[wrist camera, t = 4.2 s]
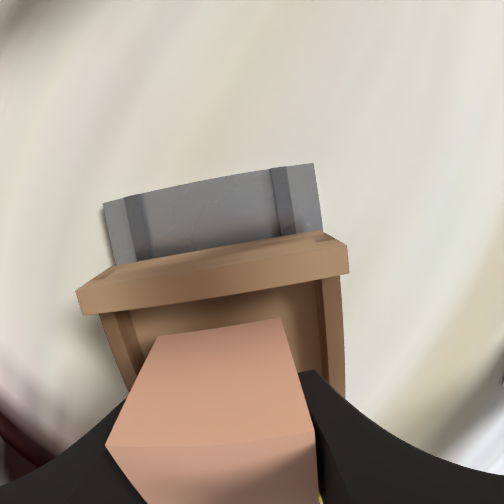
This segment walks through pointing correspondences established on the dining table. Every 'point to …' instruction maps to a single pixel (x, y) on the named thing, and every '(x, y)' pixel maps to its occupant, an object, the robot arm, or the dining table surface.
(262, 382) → the block
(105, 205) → the rail
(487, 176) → the dining table surface
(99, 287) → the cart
